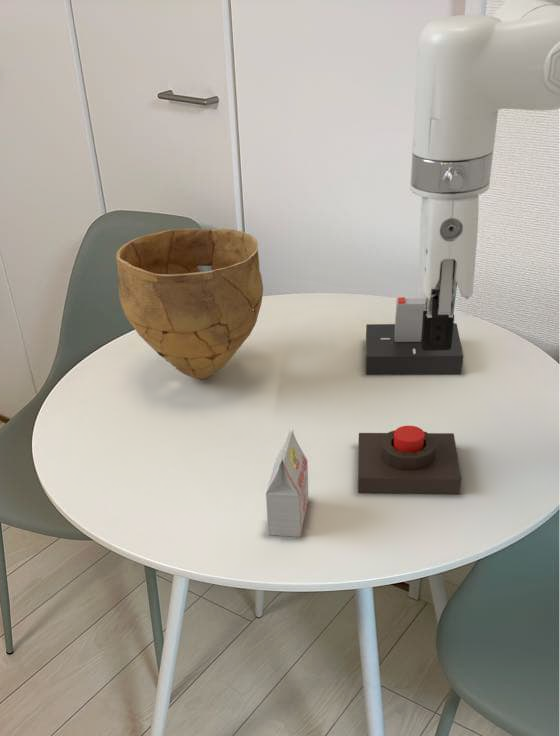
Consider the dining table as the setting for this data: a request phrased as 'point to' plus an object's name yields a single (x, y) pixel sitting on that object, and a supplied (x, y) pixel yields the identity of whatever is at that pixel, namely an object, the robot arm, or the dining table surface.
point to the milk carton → (288, 490)
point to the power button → (409, 439)
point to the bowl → (192, 294)
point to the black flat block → (408, 354)
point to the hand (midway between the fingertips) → (435, 346)
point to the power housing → (408, 465)
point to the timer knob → (409, 319)
